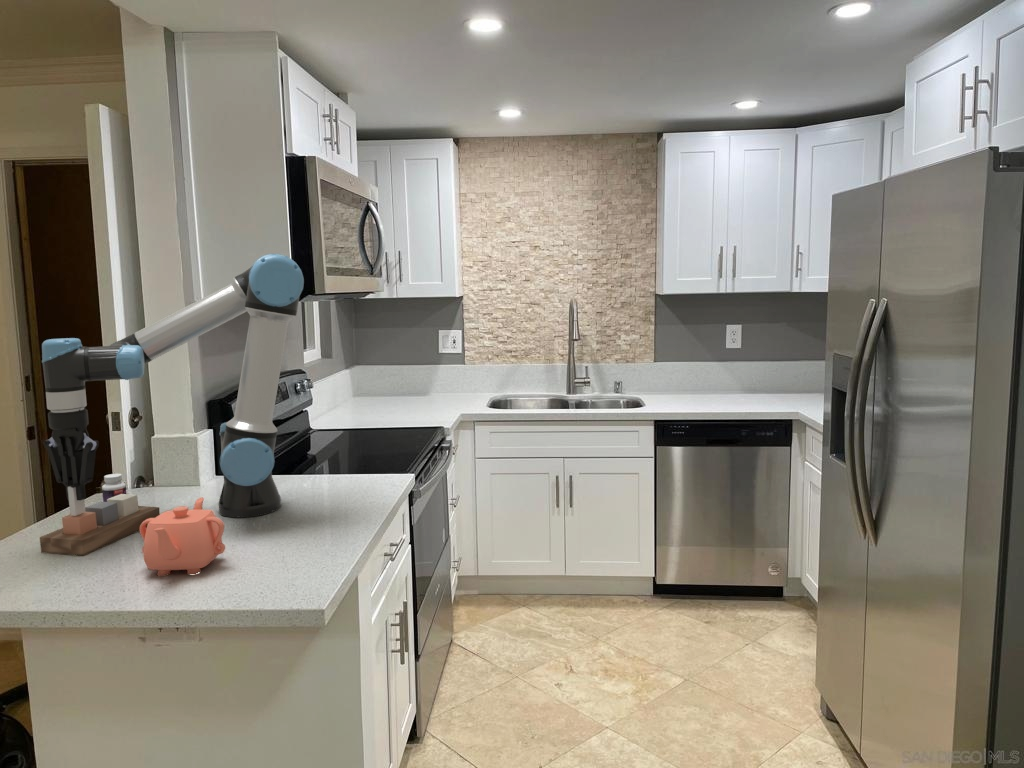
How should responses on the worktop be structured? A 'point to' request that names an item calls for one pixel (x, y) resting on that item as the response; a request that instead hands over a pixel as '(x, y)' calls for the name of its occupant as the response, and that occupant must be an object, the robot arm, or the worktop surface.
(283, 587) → the worktop surface
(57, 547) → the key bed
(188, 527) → the teapot
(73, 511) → the robot arm
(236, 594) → the worktop surface
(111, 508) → the slate key
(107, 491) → the pill bottle
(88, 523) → the salmon orange cube
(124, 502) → the cream cube
